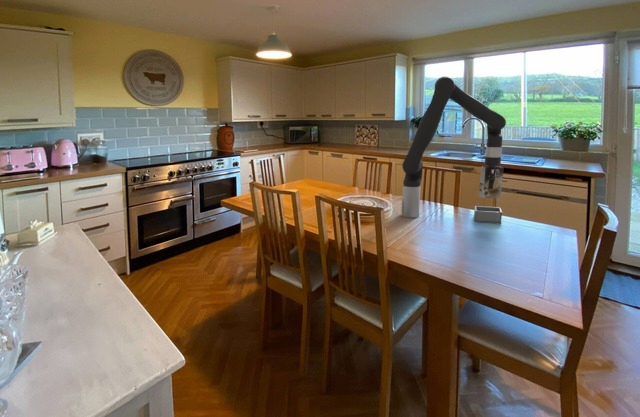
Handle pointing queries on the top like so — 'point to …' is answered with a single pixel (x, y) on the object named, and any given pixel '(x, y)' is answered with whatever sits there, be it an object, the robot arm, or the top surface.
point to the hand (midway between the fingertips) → (490, 187)
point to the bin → (487, 214)
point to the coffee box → (484, 182)
